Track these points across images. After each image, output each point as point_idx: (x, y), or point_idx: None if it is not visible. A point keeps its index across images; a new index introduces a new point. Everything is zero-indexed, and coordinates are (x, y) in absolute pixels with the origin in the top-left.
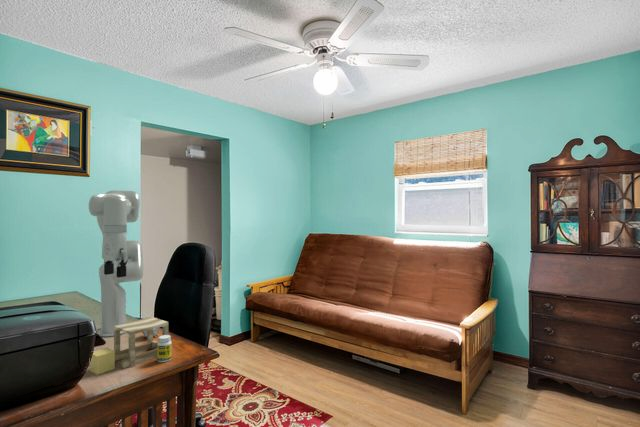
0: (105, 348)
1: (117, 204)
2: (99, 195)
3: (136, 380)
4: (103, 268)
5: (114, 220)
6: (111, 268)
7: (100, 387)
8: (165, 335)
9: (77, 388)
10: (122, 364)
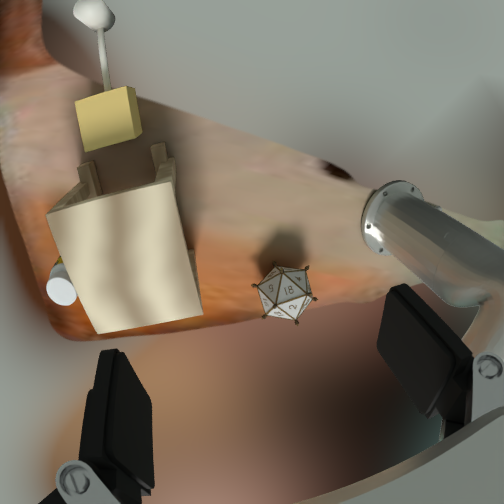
0: (130, 132)
1: None
2: None
3: (5, 176)
4: None
5: None
6: (405, 369)
7: (17, 104)
8: (71, 297)
9: (46, 59)
10: (85, 163)
